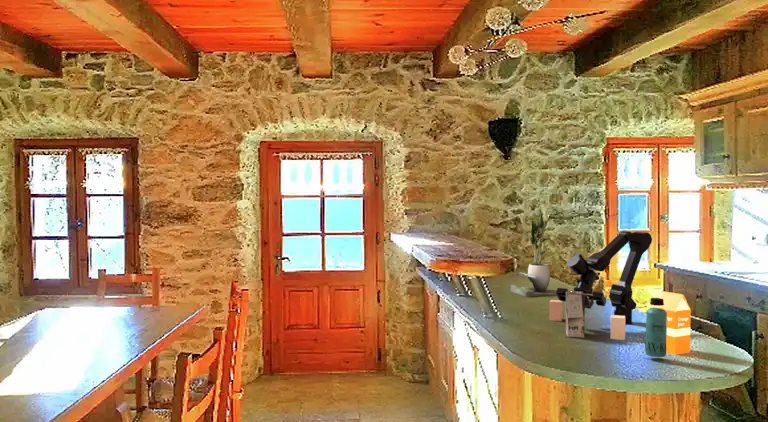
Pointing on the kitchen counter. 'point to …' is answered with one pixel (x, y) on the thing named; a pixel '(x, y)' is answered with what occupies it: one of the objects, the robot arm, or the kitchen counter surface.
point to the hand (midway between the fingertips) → (574, 313)
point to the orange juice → (676, 322)
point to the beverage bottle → (656, 329)
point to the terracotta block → (555, 310)
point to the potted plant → (536, 265)
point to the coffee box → (575, 313)
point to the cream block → (617, 327)
